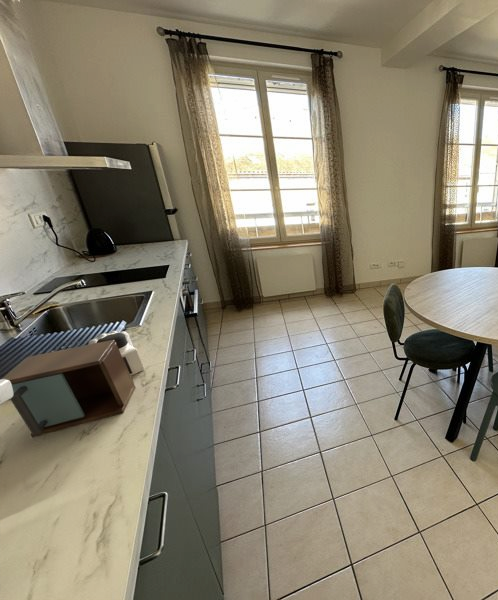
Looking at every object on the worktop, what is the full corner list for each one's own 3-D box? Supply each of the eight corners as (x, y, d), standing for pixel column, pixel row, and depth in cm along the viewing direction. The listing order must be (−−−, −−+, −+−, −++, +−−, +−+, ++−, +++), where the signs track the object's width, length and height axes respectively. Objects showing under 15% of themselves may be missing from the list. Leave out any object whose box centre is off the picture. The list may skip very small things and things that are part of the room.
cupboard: (32, 437, 78) (-3, 382, 72) (55, 407, 88) (26, 357, 82) (123, 412, 85) (98, 360, 79) (135, 387, 95) (114, 339, 89)
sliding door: (26, 441, 75) (-3, 396, 70) (38, 427, 79) (11, 383, 74) (76, 428, 78) (51, 383, 73) (85, 414, 83) (61, 372, 78)
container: (145, 369, 104) (130, 333, 98) (116, 382, 98) (98, 345, 93) (135, 363, 107) (120, 327, 102) (106, 375, 102) (88, 338, 96)
